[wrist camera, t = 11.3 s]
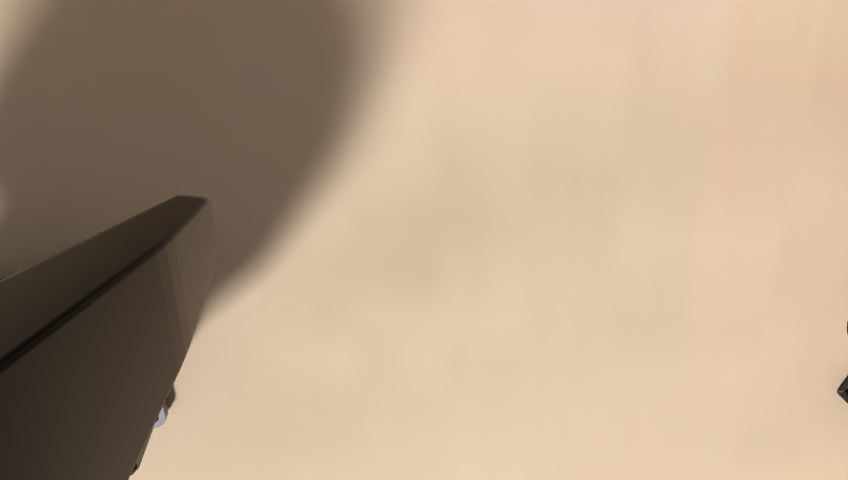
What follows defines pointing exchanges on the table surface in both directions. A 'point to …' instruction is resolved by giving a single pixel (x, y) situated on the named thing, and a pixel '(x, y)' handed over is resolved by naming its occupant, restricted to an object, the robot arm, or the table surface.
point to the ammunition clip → (844, 390)
